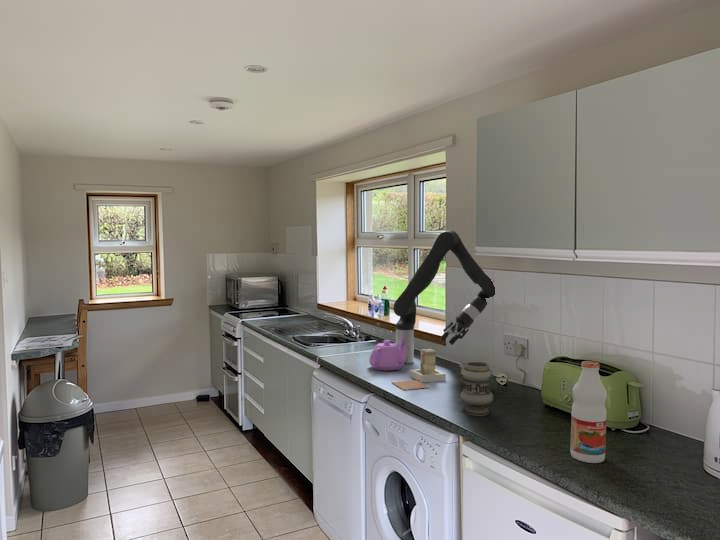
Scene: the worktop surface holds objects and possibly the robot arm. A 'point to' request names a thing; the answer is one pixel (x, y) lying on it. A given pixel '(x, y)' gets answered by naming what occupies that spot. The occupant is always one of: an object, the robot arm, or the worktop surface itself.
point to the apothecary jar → (476, 388)
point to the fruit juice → (589, 416)
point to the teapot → (388, 356)
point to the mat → (410, 385)
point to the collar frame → (428, 376)
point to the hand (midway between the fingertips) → (445, 341)
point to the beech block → (427, 361)
